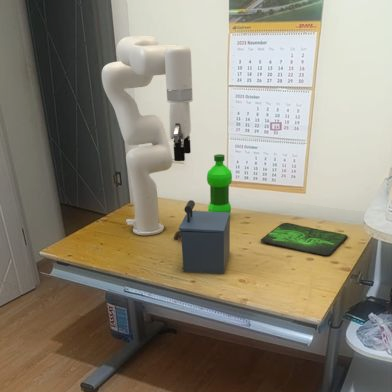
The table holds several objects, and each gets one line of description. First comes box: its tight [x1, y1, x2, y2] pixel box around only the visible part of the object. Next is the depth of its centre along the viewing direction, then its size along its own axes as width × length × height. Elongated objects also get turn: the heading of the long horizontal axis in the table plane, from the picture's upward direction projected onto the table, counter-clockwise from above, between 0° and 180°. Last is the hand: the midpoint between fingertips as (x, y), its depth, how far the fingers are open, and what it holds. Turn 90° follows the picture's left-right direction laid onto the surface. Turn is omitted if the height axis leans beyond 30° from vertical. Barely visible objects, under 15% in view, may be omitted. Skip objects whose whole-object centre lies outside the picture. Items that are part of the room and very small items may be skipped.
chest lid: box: [178, 199, 231, 233], centre depth 155 cm, size 15×17×6 cm
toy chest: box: [181, 214, 231, 275], centre depth 160 cm, size 14×17×14 cm
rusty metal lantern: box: [173, 230, 182, 242], centre depth 178 cm, size 7×13×10 cm
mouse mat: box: [260, 222, 348, 257], centre depth 177 cm, size 27×22×1 cm
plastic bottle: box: [206, 153, 233, 214], centre depth 194 cm, size 10×10×25 cm
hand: (182, 156), depth 148 cm, fingers open, 9 cm apart
